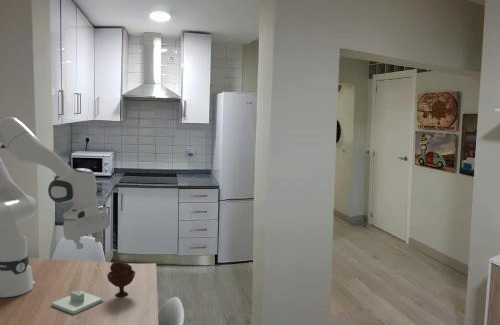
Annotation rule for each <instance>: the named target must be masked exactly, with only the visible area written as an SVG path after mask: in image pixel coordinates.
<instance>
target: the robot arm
mask: <svg viewBox="0 0 500 325" xmlns="http://www.w3.org/2000/svg"><path fill="white" fill-rule="evenodd" d="M0 149H6V150H7V151H8V152H9V153H10V154H11V155H12V157H14V158H15V159H17V160H19V162H22V163H25V164H26V163H27V164H35V165H39V166H43V167H45V168H47V169H50V170H51V171H52V172H53V173H54V174H55V175H56V176H57V178H56V179H54V180H52V181H51V182H50V183H49V185H48V188H47V191H48V192H47V194H48V196H49V198H50V199H51V200H52V201H53V202H54V203H57V204H58V203H59V204H64V203H68V202H72V204H73V206H72V207H71V208H69V209H68V210H66V212H64V213H63V214H62V215H63V216H62V218H63V219H64V222H63V224H62V228H63V236H64V238H65V240H67V241H68V240H69V241H73V242H74V244H75V245H76V249H77V250H81V249H83V248H84V244H83V243H81V238H83V237H86V236H88V235H91V234H94V233H96V236H95V237H94V242H95V243H101V242H102V235H103V232H104V231H103V230H106V229H108V228H109V226H110V219H109V215H108V212H107V208H106V207H105V206H104V205H100V206H99V201H98V198H97V192H98V188H97V186H98V185H97V180H96V175H95V173H94V171H93V170H91V169H89V168H84V167H83V168H81V167H80V168H79V167H77V168H73V166H71V165H70V164H69V163H68V162H67V161H66V160H65V159H63V157H61V155H59V154H58V153H57V152H56V151H54V150H53V149H52V148H50V147H49V146H48V145H47V144H46V143H44V142H43V141H42V140H40V138H38V136H36V134H34V132H33V131H32V130H31V129H30V128H29V127H28V126H26V125H25V124H24V122H22V121H20V120H19V119H17V118H16V117H13V116H6V117H4V118H0ZM37 211H38V202H37V200H36V199H35V198H34V197H33V196H30V195H28V194H27V193H25V192H24V191H23V190H22V189H21V188H20V187H19V186H18V185H17V183H15V182H14V180H13V178H12V177H11V175H10V173H9V171H8V169H7V167H6V165H5V163H4V161H3V159H2V158H1V156H0V298H9V297H10V298H11V297H17V296H21V295H23V294H27V293H29V292H30V291H32V290H33V288H34V286H35V285H36V281H35V280H34V279H33V272H32V266H31V265H30V258H29V255H28V240H27V236H26V235H25V234H23V233H21V231H20V229H19V224H20V223H22V222H25V221H27V220H29V219H30V218H32V217H33V216H34V215H35V214H36V213H37Z"/></svg>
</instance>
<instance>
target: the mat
mask: <svg viewBox="0 0 500 325" xmlns="http://www.w3.org/2000/svg"><path fill="white" fill-rule="evenodd" d="M104 302H105V301H104V300H102V302H100V303H98V304H96V305H93V306H91V307H89V308H87V309H84V310H82V311H80V312H78V313H75V314H72V313H69V312H67V311H64V310H62V309H59V308H57V307H54V306H52V304H51V305H50V307H52V308H54V309H57V310H59V311H61V312H64V313H67V314H69V315H71V316H75V315H78V314H79V313H81V312H84V311H87V310H88V309H91V308H93V307H95V306H97V305H100V304H101V303H104Z"/></svg>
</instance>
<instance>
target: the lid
mask: <svg viewBox="0 0 500 325" xmlns="http://www.w3.org/2000/svg"><path fill="white" fill-rule="evenodd" d="M69 294H70V295H67V296H65V297H61V298H60V299H57V300H55V301H52V302H51V305H52V306H54V307H57V308H59V309H62V310H64V311H67V312H69V313H72V314H75V313H77V314H79V313H78V312H80V311H82V310H84V309H86V310H88V309H90V308H89V307H91V306H93V305H95V306H97V305H99V304H98V303H100V302H102V301H103V298H102V297H100V296H96V295H94V294H90V293H87V292H84V291H83V290H80V291H79V290H74V291H71V292H70V293H69ZM102 303H103V302H102ZM96 304H97V305H96ZM100 304H101V303H100ZM54 307H53V308H54ZM93 307H94V306H93ZM87 308H88V309H87ZM91 308H92V307H91ZM59 309H58V310H59ZM64 311H63V312H64ZM84 311H85V310H84ZM82 312H83V311H82ZM69 313H68V314H69ZM80 313H81V312H80ZM75 315H76V314H75Z"/></svg>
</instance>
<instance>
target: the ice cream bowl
mask: <svg viewBox="0 0 500 325" xmlns="http://www.w3.org/2000/svg"><path fill="white" fill-rule="evenodd" d="M109 268H110V271H108V273H107V276H106V277H107V280H108V281H109V283H110V284H112V285H113V286H115V287H116V288H117V287H118V288H119V291H118V292H117V293H115V295H114V297H116V298H126V297H128V296H129V293H128V292H127V291H125V287H126V286H128V285H131V283H132V282H133V280H134V278H135V276H136V271H135V270H133V268H132V265H130V264H129V263H127V262H124V261H123V260H115V261H113V262H112V263H111V264H110V267H109Z"/></svg>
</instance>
